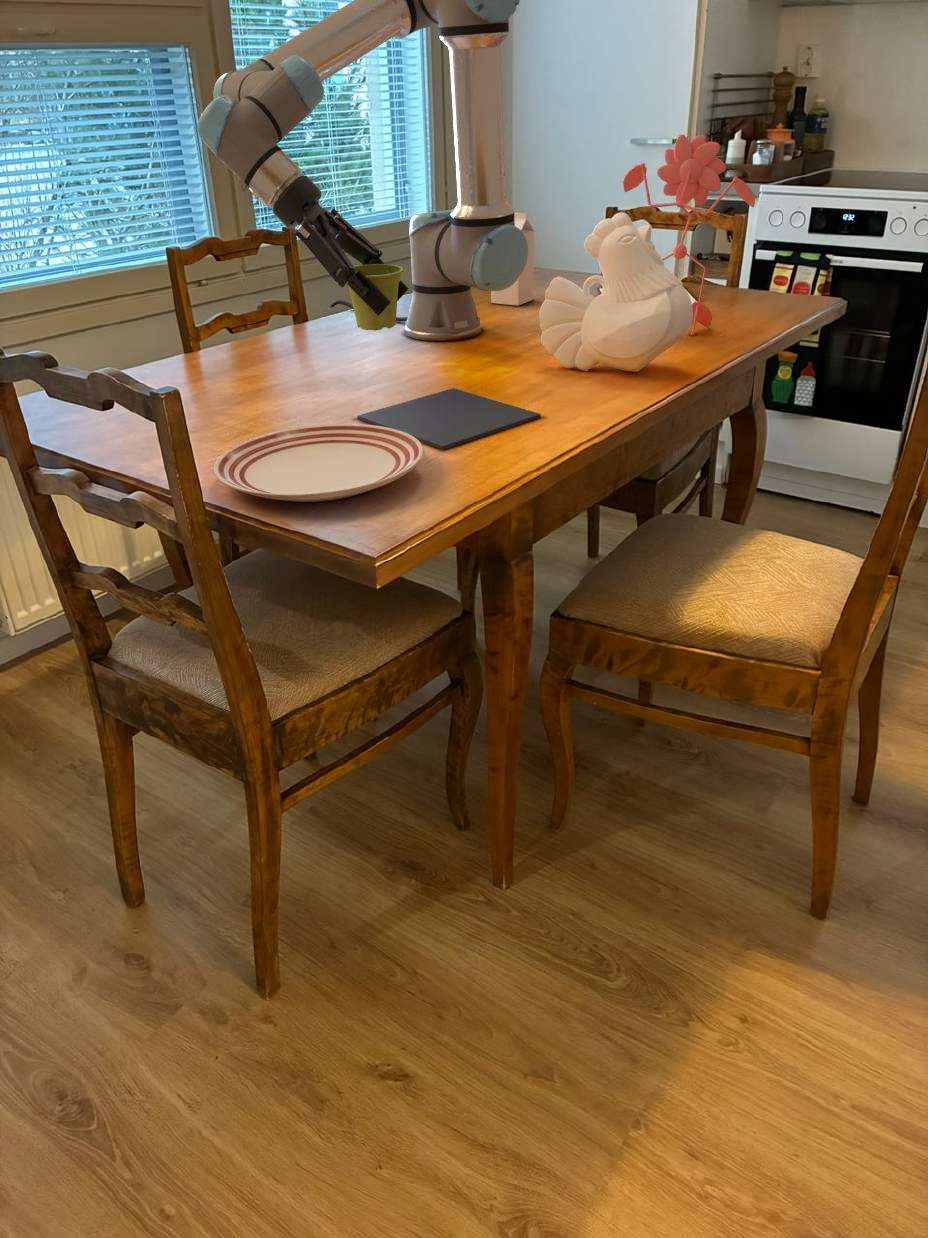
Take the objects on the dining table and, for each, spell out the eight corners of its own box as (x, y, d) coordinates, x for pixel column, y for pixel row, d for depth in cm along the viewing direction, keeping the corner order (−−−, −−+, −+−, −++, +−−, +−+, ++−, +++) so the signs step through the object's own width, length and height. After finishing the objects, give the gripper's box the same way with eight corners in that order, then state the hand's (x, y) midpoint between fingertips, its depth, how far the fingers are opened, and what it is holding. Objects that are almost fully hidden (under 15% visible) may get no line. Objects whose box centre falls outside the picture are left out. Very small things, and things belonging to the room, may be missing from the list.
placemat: (357, 419, 148) (357, 415, 148) (453, 391, 160) (453, 387, 160) (442, 450, 135) (442, 446, 135) (540, 417, 147) (540, 413, 147)
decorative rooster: (717, 327, 166) (649, 200, 166) (690, 330, 153) (616, 192, 152) (600, 402, 180) (537, 285, 180) (566, 410, 167) (498, 284, 167)
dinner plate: (171, 492, 124) (166, 468, 122) (307, 431, 144) (305, 409, 142) (339, 536, 111) (336, 509, 110) (463, 461, 131) (462, 438, 130)
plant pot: (397, 334, 148) (393, 275, 144) (339, 332, 150) (333, 274, 145) (412, 320, 156) (409, 264, 151) (357, 318, 158) (352, 263, 153)
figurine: (734, 340, 185) (758, 137, 167) (606, 329, 195) (616, 136, 177) (750, 322, 197) (774, 131, 179) (629, 313, 207) (640, 131, 189)
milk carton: (518, 306, 215) (518, 215, 206) (491, 303, 218) (490, 213, 209) (533, 300, 220) (534, 211, 211) (506, 297, 224) (506, 209, 214)
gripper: (299, 201, 157) (398, 303, 161) (243, 220, 138) (357, 335, 143) (326, 165, 153) (427, 271, 158) (273, 180, 134) (389, 299, 139)
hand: (394, 301), depth 150 cm, fingers closed on plant pot, 9 cm apart
